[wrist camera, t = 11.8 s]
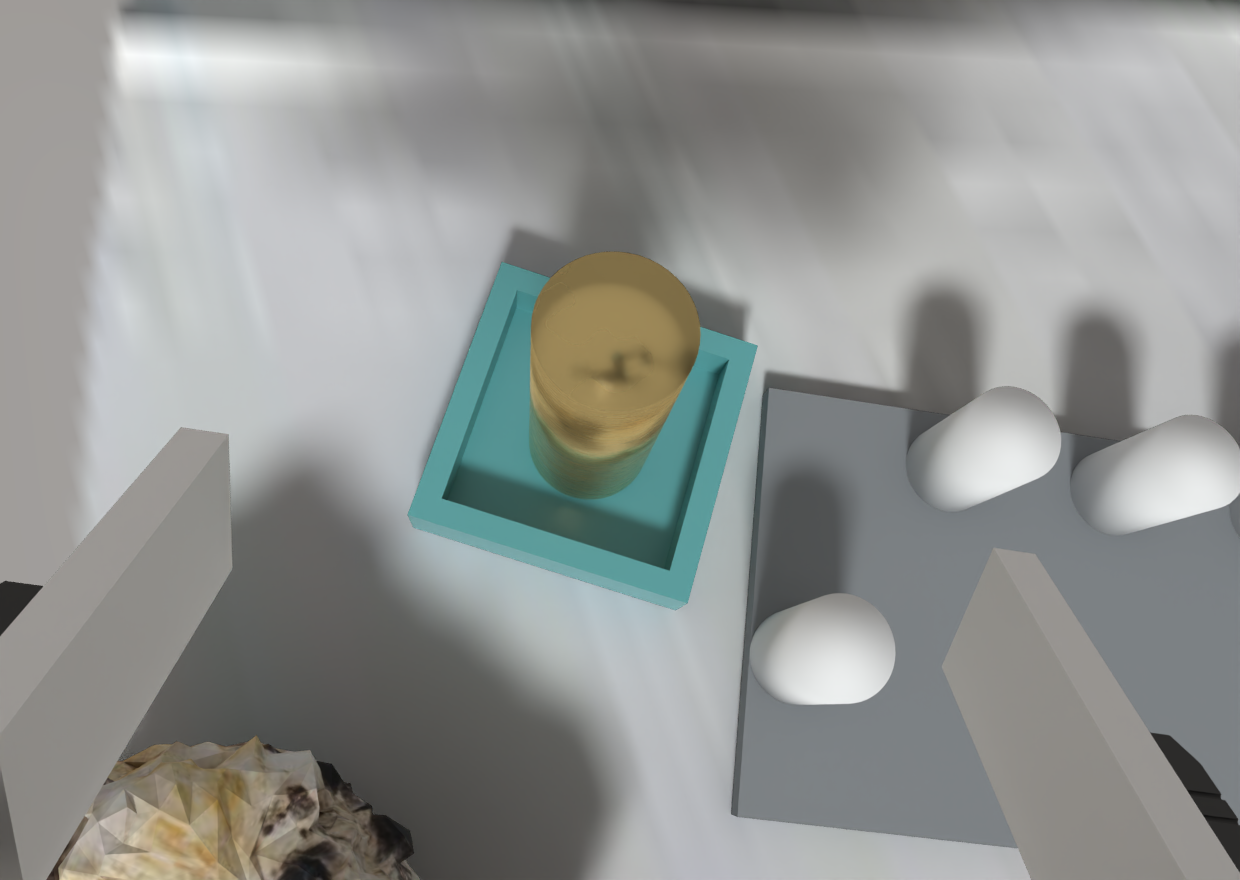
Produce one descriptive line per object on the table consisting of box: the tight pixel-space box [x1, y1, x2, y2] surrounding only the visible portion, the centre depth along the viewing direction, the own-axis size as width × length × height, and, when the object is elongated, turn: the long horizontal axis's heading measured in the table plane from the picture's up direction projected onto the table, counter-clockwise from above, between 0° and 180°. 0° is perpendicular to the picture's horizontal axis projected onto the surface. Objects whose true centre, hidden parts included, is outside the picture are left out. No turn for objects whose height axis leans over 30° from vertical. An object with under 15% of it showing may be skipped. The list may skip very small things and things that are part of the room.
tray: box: [408, 262, 758, 610], centre depth 32 cm, size 9×9×2 cm
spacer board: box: [731, 386, 1240, 848], centre depth 31 cm, size 25×14×5 cm, turn 83°
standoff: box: [529, 252, 701, 500], centre depth 27 cm, size 4×4×10 cm
